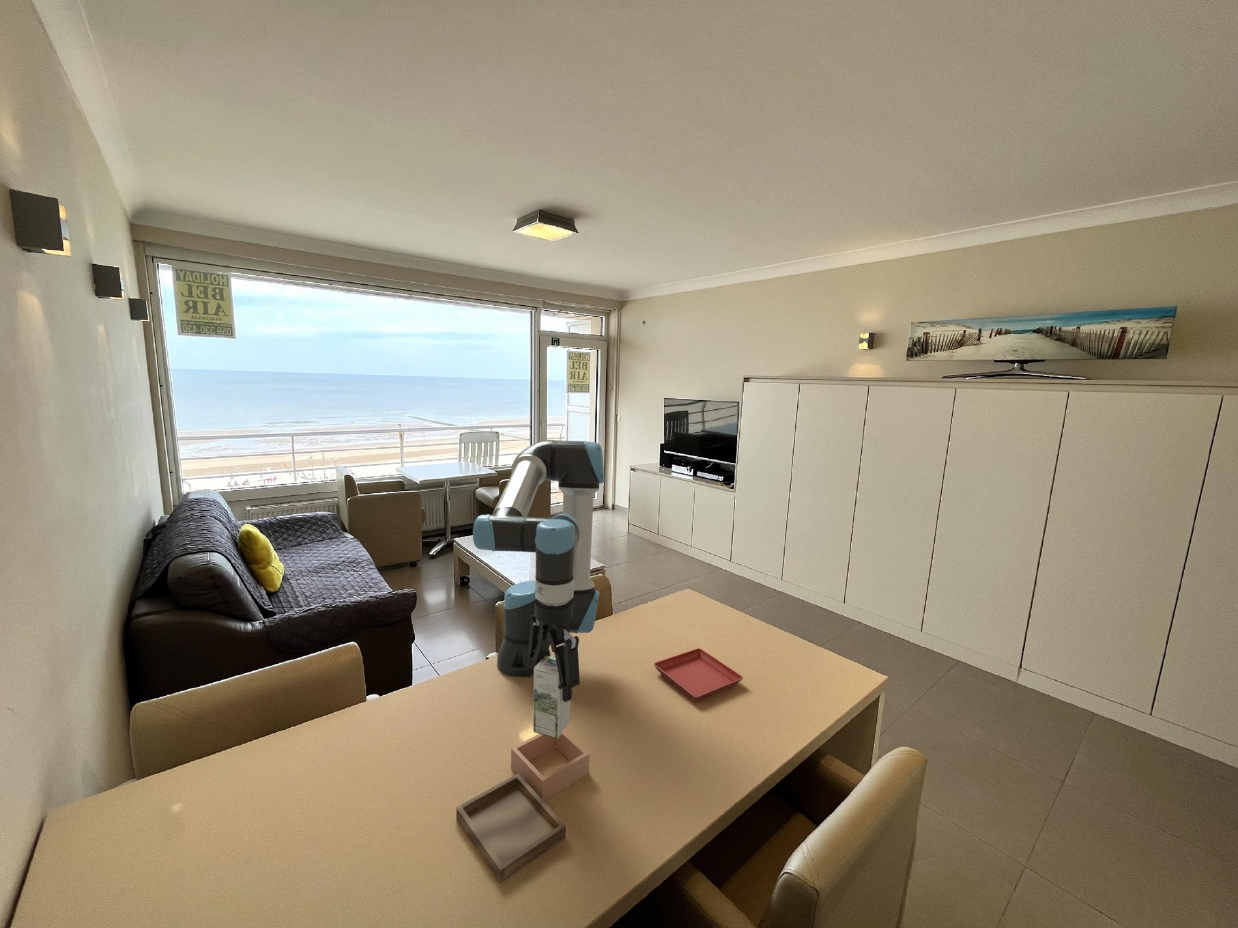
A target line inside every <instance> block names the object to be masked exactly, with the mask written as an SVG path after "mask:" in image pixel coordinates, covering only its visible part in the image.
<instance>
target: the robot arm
mask: <svg viewBox="0 0 1238 928" xmlns="http://www.w3.org/2000/svg"><path fill="white" fill-rule="evenodd" d="M603 456H604V455H603V449H602V446H601V444H599V443H598V442H595V441H594V442H593V441H588V440H587V441H586V440H583V441H581V440H559V439H557V440H554V439H545V440H541V441H538V442H536V443H533V444H531V445H529V446H528V447H525V449H523V450H522V451H520V452H519V454H518V455H516V457H515V459H514V460H513V463H512V465H511V470H510V472H511V475H510V476H509V479H508V481H507V483H506V486H505V487H504V489H503V491H502V493H501V495H500V498H499V500H498V502H497V504H496V505H495V508H494V510H493V511H492V514H489V513H487V514H480V515H479V516H477V517H476V519H474V524H473V528H472V541H473V545H474V547H475V548H476V549H477V550H483V551H491V552H515V553H516V552H518V553H520V552H521V553H534V554H535V580H526V581H522V582H519V583H516V584H513V585H511V586H510V587H508V588H507V590H506V591H505V593H504V599H503V639H502V641H501V646H500V648H499V652H498V653H497V659H496V662H497V663H496V666H497V668H498V670H499V671H500V672H501V673H502V674H505V675H508V676H511V677H516V678H517V677H518V678H523V677H524V678H525V677H533V676H534V668H535V667H536V665H537V664H538V663H539V662H540V661H541V660H542V659H543V658H544V657H545V656H546V655H547V656H551V652H552V653H554V657H555V658H556V663H557V668H558V673H559V678H560V683H561V684H559V685H558V699H557V715H558V716H559V717H560V716H562V715H564V714H566V713H568V712H569V713H570V712H571V705H572V704H571V703H572V702H571V701H572V698H573V695H572V694H573V688H575V687H577V686H579V685H580V684H581V677H580V665H579V662H580V661H579V650H578V649H579V643H580V638H579V636H578V635H575V636H573V635H572V634H589V633H592V631H593V630H594V626H595V623H596V617H597V609H598V603H599V598H600V594H601V593H600V591H598V590H595V588H596V584H595V583H594V582H593V581H592V579H591V563H592V561H591V559H592V540H593V539H592V537H593V536H592V535H593V519H594V518H593V512H594V496H595V494H596V493H597V492H598V491H599V490H600V484H604V483H605V482H606V481H605V467H604V457H603ZM544 481H552V482H558V485H557V486H558V489H559V490H560V492H561V493H562V496H563V497H562V513H558V514H555V515H554V516H552V517H545V516H544V517H543V516H542V517H540V516H529V512H530V509H531V507H532V505H533V502H534V499H535V497H536V494H537V491H538V488H539V486H540V485H541V484H542V483H543V482H544ZM571 633H572V634H571ZM550 648H551V649H550ZM550 650H551V651H550ZM551 657H552V656H551Z"/></svg>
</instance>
